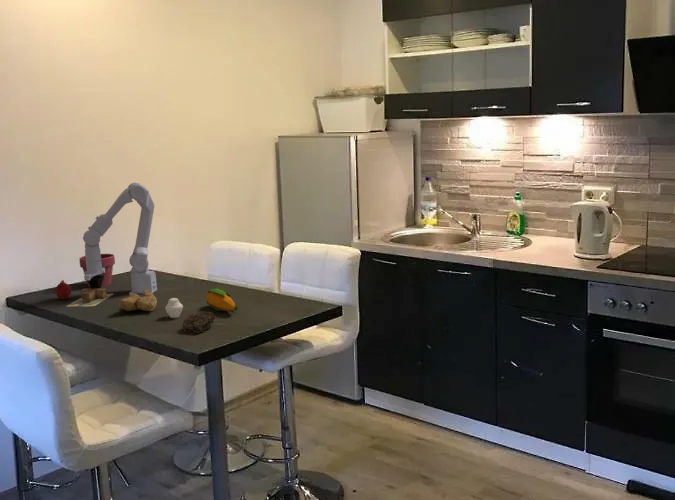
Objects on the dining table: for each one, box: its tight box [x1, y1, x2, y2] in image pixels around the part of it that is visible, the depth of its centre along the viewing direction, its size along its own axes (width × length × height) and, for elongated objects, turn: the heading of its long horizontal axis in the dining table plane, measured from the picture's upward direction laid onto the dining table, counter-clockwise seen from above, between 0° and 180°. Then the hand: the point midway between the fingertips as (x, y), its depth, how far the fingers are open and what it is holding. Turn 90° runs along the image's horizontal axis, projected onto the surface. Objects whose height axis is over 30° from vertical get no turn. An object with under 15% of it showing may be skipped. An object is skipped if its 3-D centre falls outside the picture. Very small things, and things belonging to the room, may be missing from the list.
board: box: [67, 293, 114, 307], centre depth 285 cm, size 11×19×1 cm, turn 174°
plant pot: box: [79, 253, 116, 288], centre depth 310 cm, size 14×14×13 cm
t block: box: [80, 287, 108, 302], centre depth 284 cm, size 9×8×4 cm
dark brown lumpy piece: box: [181, 311, 216, 334], centre depth 243 cm, size 12×10×5 cm
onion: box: [54, 280, 72, 300], centre depth 288 cm, size 6×6×8 cm
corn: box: [206, 288, 238, 312], centre depth 265 cm, size 7×8×20 cm
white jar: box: [164, 297, 184, 319], centre depth 258 cm, size 6×6×7 cm
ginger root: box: [118, 289, 158, 312], centre depth 269 cm, size 16×16×8 cm
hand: (96, 294), depth 290 cm, fingers closed
